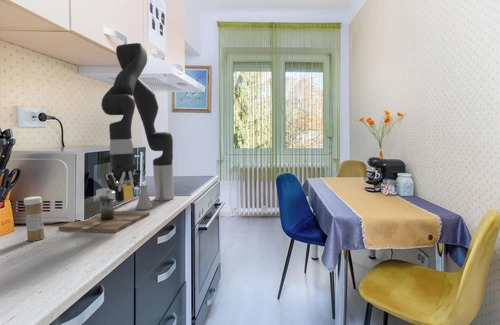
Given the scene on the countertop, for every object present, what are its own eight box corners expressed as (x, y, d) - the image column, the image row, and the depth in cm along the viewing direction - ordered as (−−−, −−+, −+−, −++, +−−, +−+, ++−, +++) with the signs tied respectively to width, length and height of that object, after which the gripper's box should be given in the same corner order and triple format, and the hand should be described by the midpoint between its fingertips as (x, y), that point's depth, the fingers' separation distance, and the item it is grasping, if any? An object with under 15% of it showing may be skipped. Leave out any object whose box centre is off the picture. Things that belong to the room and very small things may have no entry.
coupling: (92, 198, 112) (91, 184, 111) (107, 194, 117) (106, 181, 117) (121, 201, 105) (120, 187, 104) (136, 197, 110) (135, 184, 110)
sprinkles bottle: (34, 236, 99) (30, 196, 98) (48, 236, 99) (44, 195, 97) (23, 241, 94) (19, 199, 93) (38, 241, 94) (34, 198, 93)
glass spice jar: (107, 216, 117) (106, 195, 117) (117, 216, 117) (116, 196, 116) (96, 220, 111) (95, 199, 110) (107, 221, 110) (106, 199, 110)
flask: (155, 206, 137) (154, 184, 136) (148, 210, 130) (147, 187, 129) (140, 206, 138) (139, 184, 137) (132, 210, 131) (131, 187, 130)
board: (101, 213, 127) (101, 209, 127) (149, 214, 123) (149, 211, 123) (56, 230, 104) (56, 226, 104) (114, 233, 100) (113, 229, 100)
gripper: (131, 150, 115) (134, 195, 117) (96, 153, 102) (100, 203, 104) (145, 151, 111) (147, 197, 113) (111, 154, 99) (114, 205, 101)
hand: (125, 199), depth 109 cm, fingers closed on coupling, 4 cm apart
